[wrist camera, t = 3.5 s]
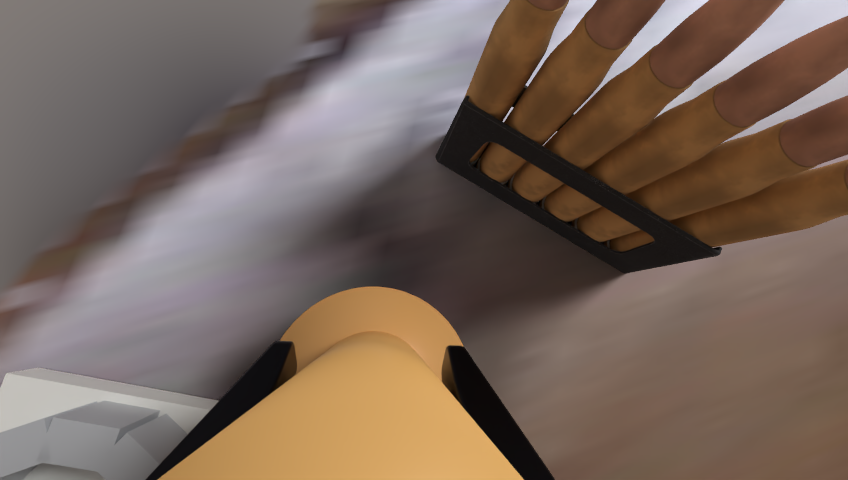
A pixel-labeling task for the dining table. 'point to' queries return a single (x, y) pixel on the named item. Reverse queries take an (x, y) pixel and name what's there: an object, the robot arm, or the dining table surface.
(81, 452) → the housing
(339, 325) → the tan peg
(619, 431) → the dining table surface
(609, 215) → the ammunition clip
